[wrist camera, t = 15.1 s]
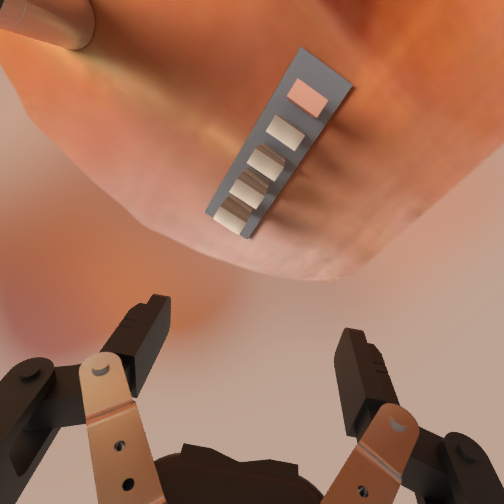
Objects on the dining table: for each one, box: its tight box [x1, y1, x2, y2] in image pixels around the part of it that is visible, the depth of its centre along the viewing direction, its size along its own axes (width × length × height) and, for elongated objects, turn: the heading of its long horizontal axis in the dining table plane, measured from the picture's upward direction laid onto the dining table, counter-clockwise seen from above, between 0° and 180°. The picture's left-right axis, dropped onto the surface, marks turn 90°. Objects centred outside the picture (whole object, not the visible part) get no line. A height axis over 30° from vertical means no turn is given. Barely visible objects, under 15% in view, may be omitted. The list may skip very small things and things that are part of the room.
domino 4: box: [213, 193, 253, 235], centre depth 53 cm, size 2×5×12 cm, turn 58°
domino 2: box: [247, 142, 286, 182], centre depth 49 cm, size 2×5×12 cm, turn 58°
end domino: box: [287, 78, 328, 118], centre depth 45 cm, size 2×5×12 cm, turn 58°
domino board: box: [205, 47, 352, 239], centre depth 55 cm, size 10×32×1 cm, turn 148°
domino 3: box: [229, 166, 270, 209], centre depth 51 cm, size 2×5×12 cm, turn 58°
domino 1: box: [266, 115, 305, 151], centre depth 47 cm, size 2×5×12 cm, turn 58°
